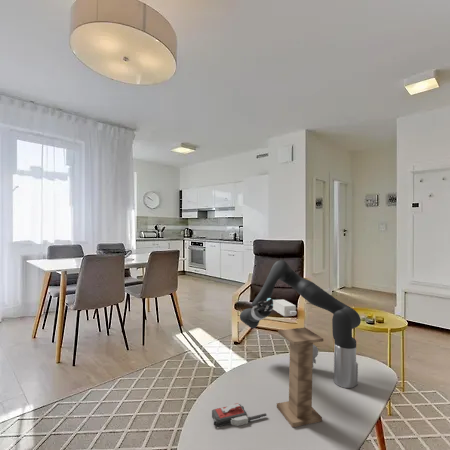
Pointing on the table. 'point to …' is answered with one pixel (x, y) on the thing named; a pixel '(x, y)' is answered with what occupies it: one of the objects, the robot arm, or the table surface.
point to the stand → (300, 378)
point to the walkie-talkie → (232, 415)
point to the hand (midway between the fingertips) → (275, 300)
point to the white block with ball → (284, 307)
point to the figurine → (315, 353)
